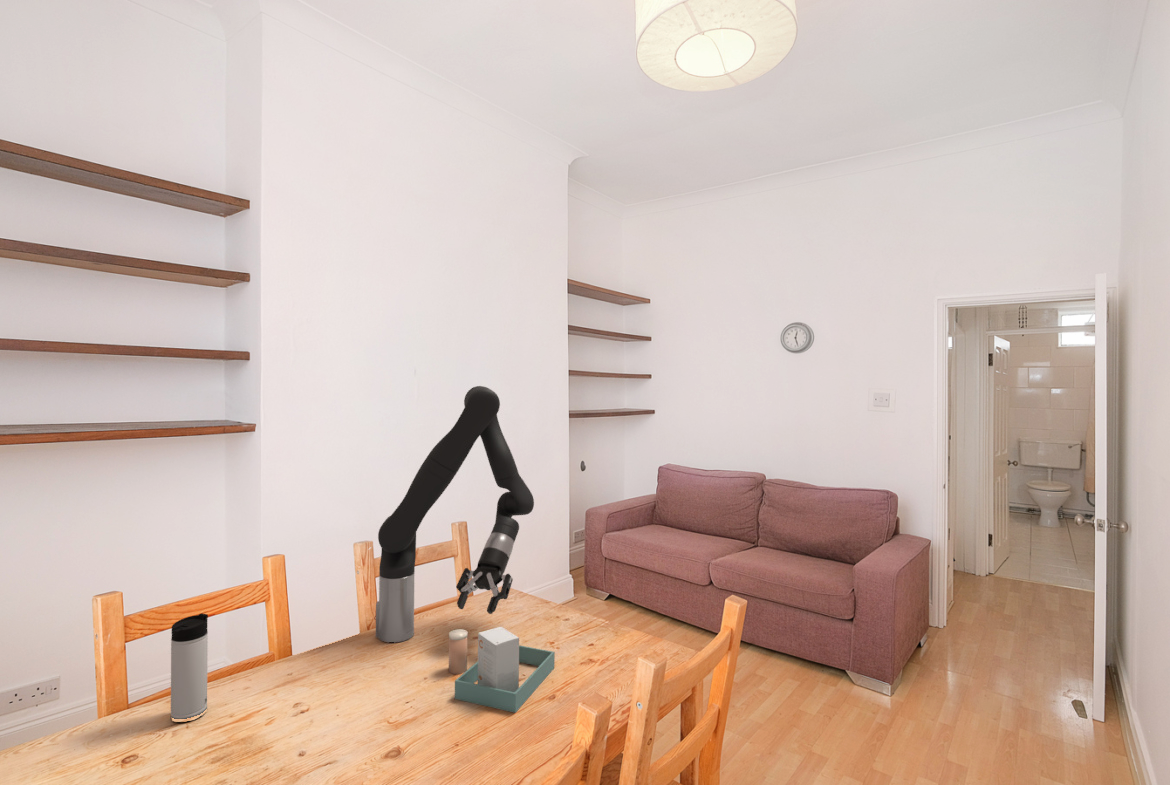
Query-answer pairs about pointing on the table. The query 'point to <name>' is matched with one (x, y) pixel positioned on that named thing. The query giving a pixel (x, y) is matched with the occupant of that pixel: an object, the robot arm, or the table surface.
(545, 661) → the tray
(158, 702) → the table surface
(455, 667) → the jar
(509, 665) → the small box
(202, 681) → the travel mug
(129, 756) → the table surface
